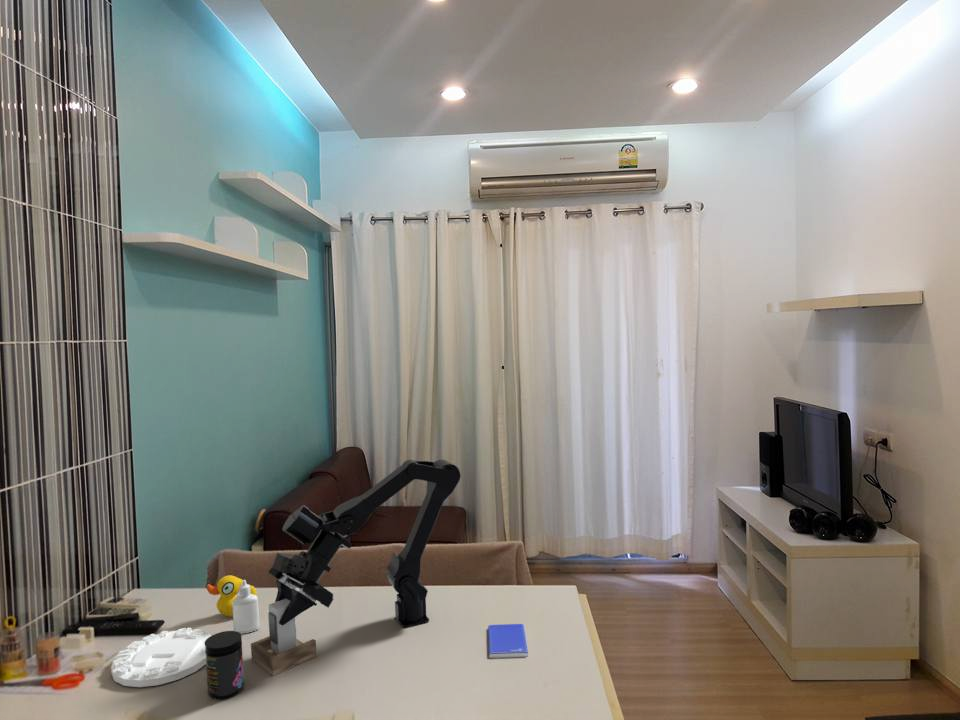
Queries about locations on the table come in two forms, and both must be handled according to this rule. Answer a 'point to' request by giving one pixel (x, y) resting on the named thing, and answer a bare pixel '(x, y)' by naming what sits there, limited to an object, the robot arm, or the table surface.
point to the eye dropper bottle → (245, 610)
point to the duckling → (227, 593)
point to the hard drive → (507, 641)
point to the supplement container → (224, 664)
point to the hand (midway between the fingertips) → (276, 621)
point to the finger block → (281, 628)
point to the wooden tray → (281, 655)
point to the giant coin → (160, 658)
